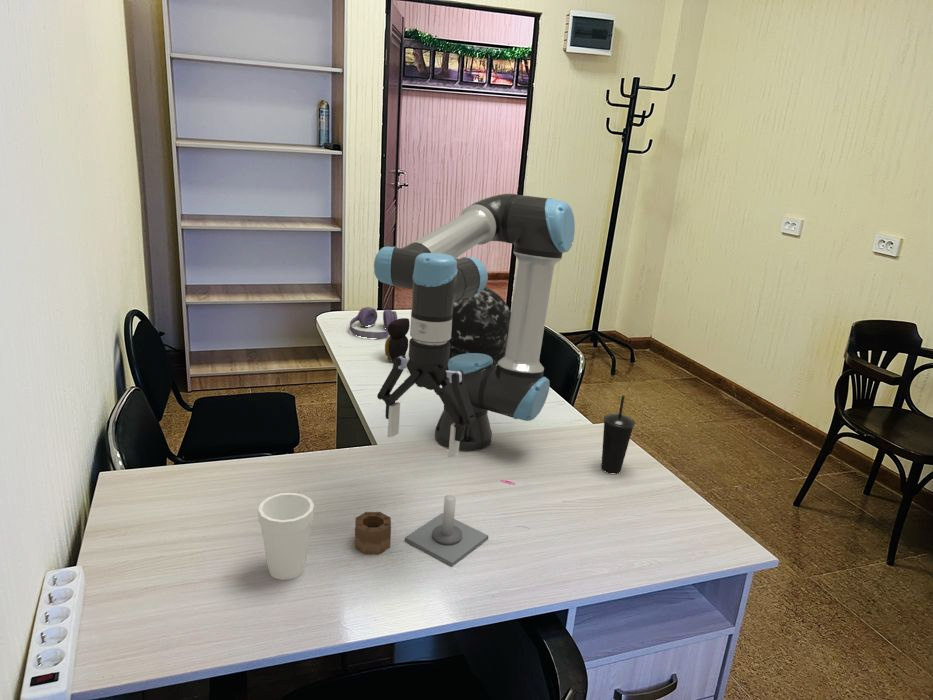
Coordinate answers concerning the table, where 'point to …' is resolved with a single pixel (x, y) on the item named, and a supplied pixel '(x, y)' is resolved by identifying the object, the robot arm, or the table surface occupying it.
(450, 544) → the grey peg stand
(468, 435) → the robot arm
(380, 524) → the brown faceted ring
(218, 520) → the table surface
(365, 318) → the headphones
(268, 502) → the foam cup
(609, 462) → the drinking cup
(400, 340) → the figurine
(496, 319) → the globe
